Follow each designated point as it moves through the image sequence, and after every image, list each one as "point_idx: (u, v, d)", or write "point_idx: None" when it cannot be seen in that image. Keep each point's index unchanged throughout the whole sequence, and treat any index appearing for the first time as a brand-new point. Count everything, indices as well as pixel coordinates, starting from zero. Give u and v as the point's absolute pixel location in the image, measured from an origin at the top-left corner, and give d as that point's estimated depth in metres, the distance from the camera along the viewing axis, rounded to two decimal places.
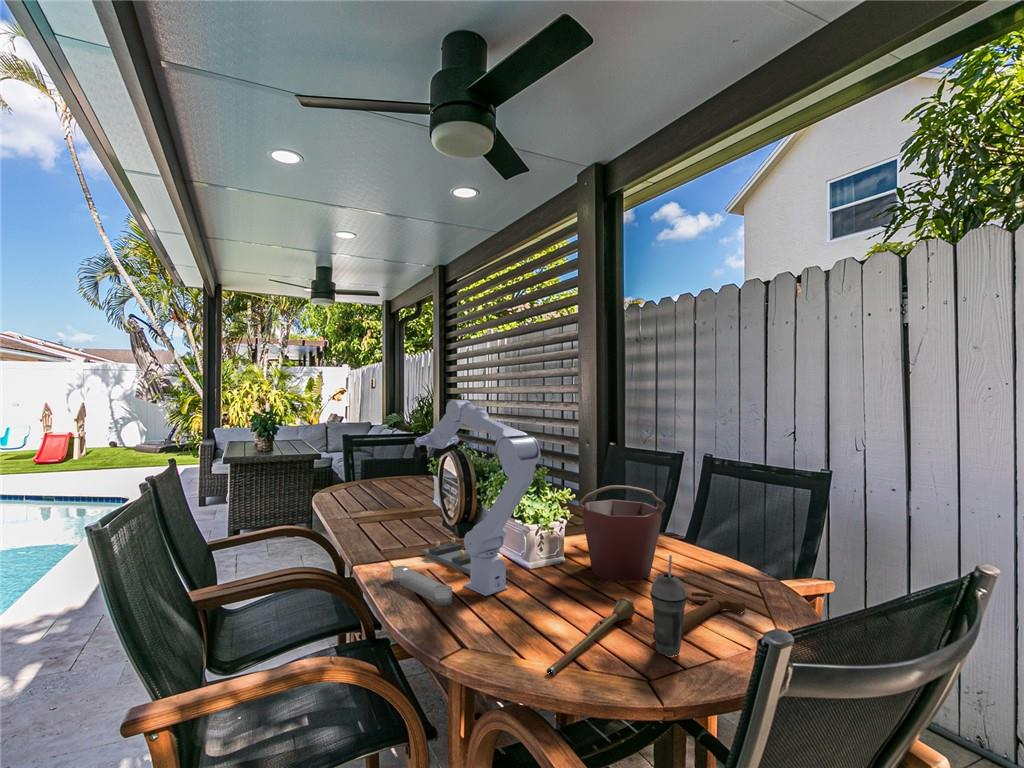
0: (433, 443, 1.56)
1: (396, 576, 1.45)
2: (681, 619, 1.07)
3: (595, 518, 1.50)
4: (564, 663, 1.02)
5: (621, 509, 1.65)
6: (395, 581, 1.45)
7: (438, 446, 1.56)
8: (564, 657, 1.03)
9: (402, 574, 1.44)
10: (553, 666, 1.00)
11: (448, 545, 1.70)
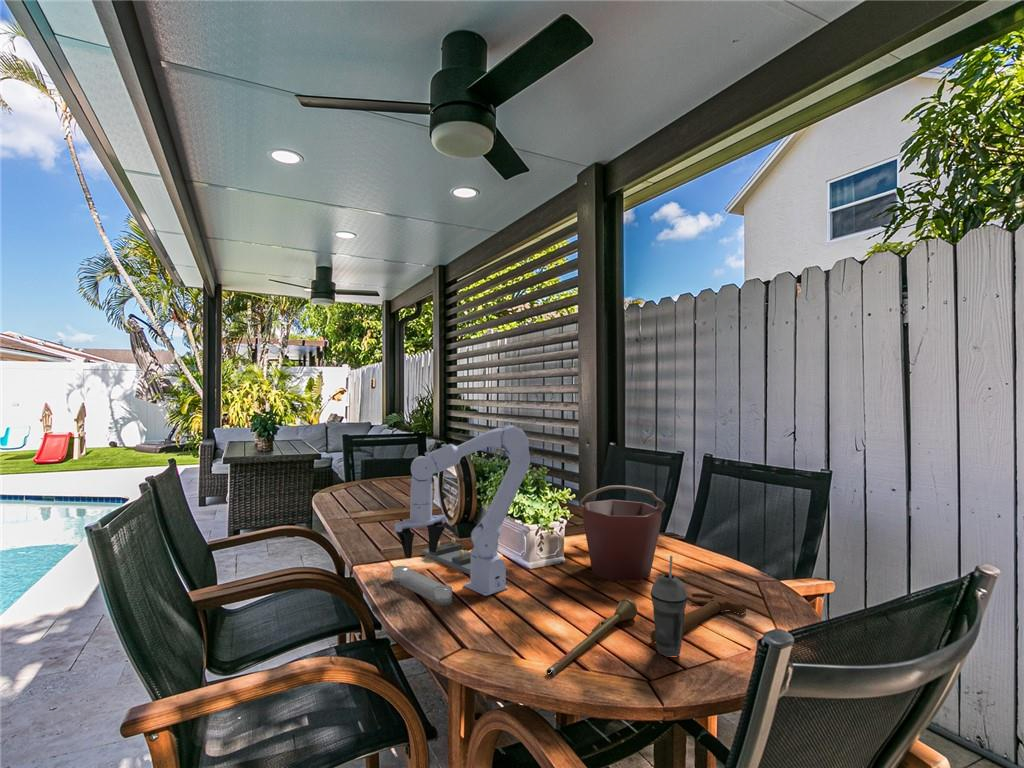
0: (415, 521, 1.37)
1: (396, 576, 1.45)
2: (682, 620, 1.06)
3: (595, 518, 1.50)
4: (564, 664, 1.02)
5: (621, 509, 1.65)
6: (395, 581, 1.45)
7: (423, 522, 1.37)
8: (564, 658, 1.03)
9: (402, 574, 1.44)
10: (553, 666, 1.00)
11: (448, 545, 1.70)
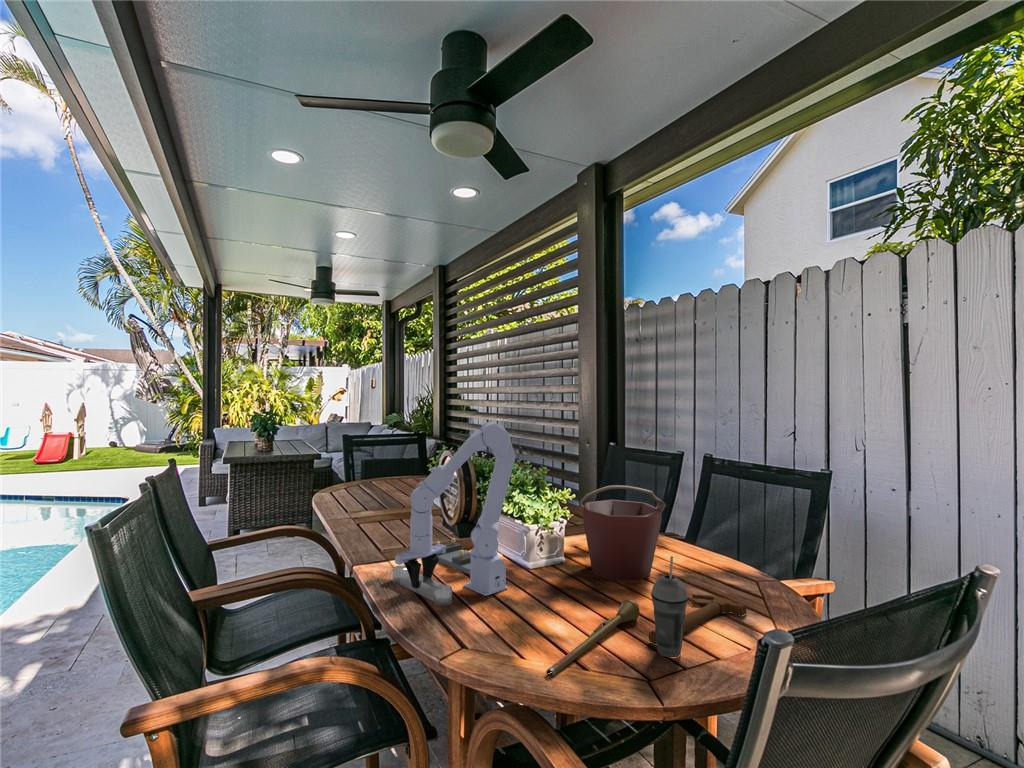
0: (415, 553, 1.37)
1: (396, 576, 1.45)
2: (682, 620, 1.06)
3: (595, 518, 1.50)
4: (564, 664, 1.02)
5: (621, 509, 1.65)
6: (395, 581, 1.45)
7: (423, 554, 1.37)
8: (564, 658, 1.03)
9: (402, 574, 1.44)
10: (553, 667, 1.00)
11: (448, 545, 1.70)
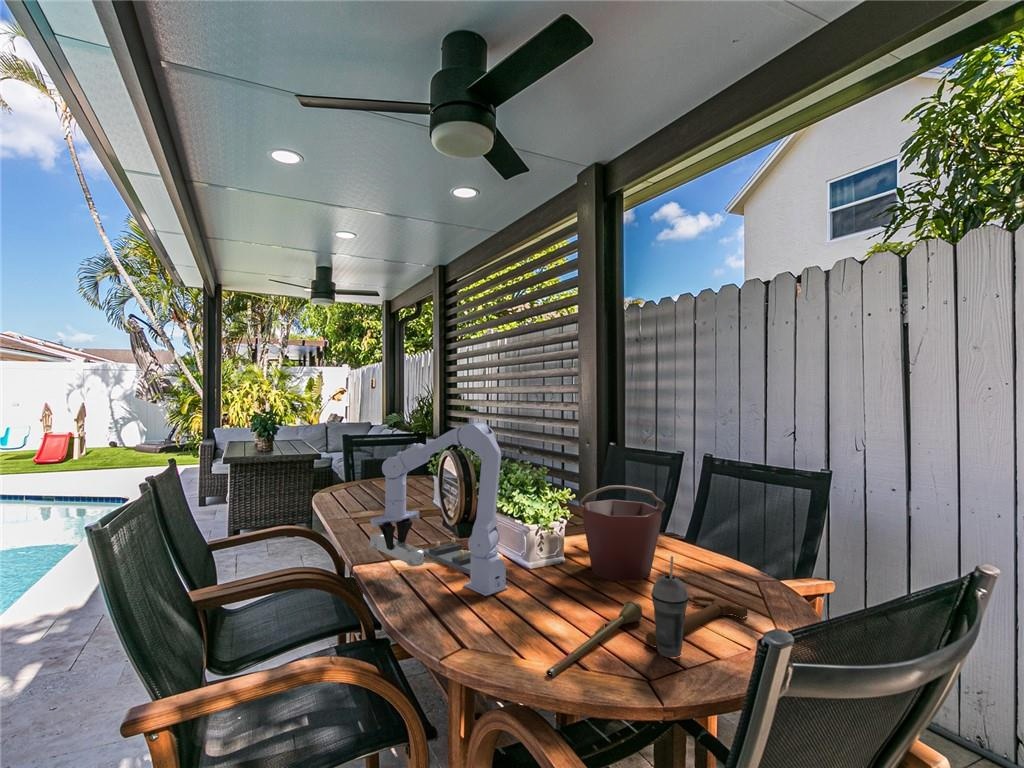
0: (390, 517, 1.47)
1: (373, 542, 1.54)
2: (683, 620, 1.06)
3: (595, 518, 1.50)
4: (564, 665, 1.02)
5: (621, 509, 1.65)
6: (372, 546, 1.54)
7: (397, 518, 1.47)
8: (565, 659, 1.03)
9: (379, 539, 1.53)
10: (553, 668, 1.00)
11: (448, 545, 1.70)
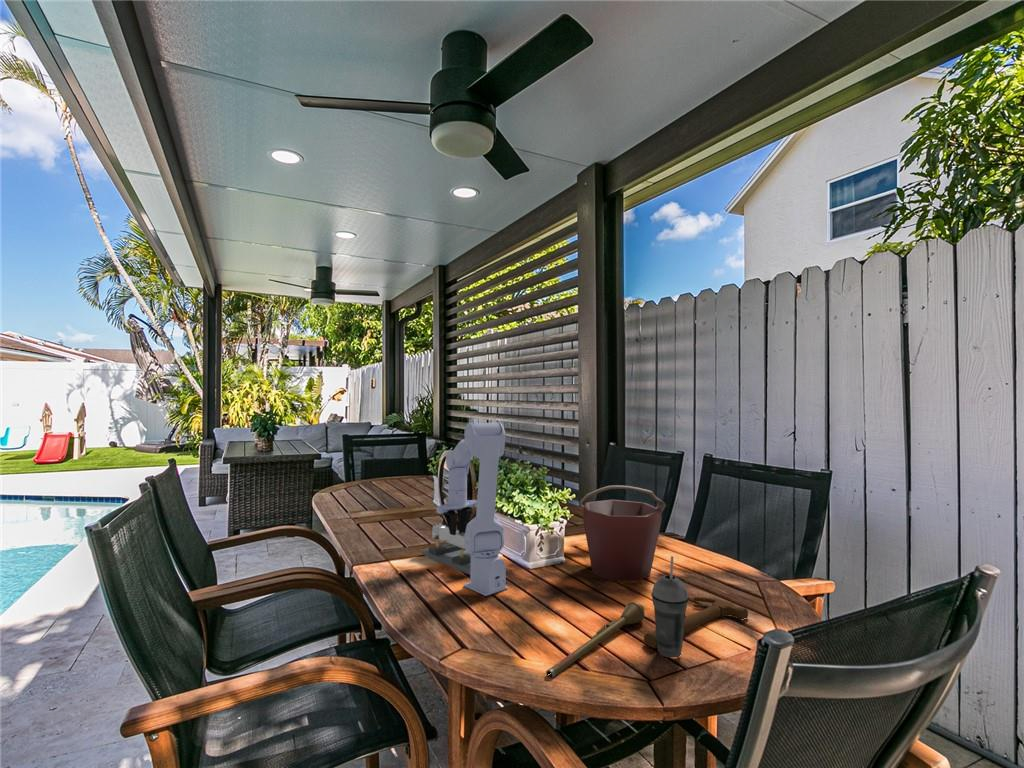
0: (453, 505, 1.62)
1: (435, 532, 1.69)
2: (683, 620, 1.06)
3: (595, 518, 1.50)
4: (565, 665, 1.01)
5: (621, 509, 1.65)
6: (435, 537, 1.69)
7: (459, 506, 1.62)
8: (565, 659, 1.02)
9: (441, 530, 1.68)
10: (553, 668, 1.00)
11: (448, 545, 1.70)
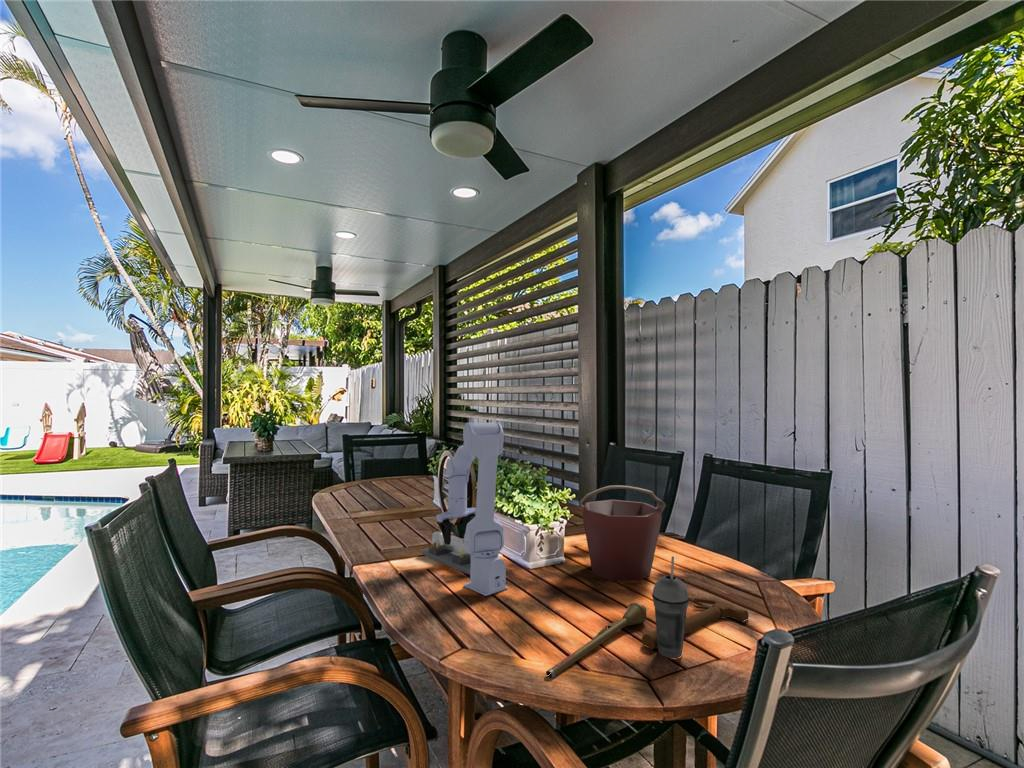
0: (453, 513, 1.62)
1: (435, 539, 1.69)
2: (683, 621, 1.06)
3: (595, 518, 1.50)
4: (565, 666, 1.01)
5: (621, 509, 1.65)
6: (435, 544, 1.69)
7: (459, 514, 1.62)
8: (565, 660, 1.02)
9: (441, 537, 1.68)
10: (553, 668, 1.00)
11: None
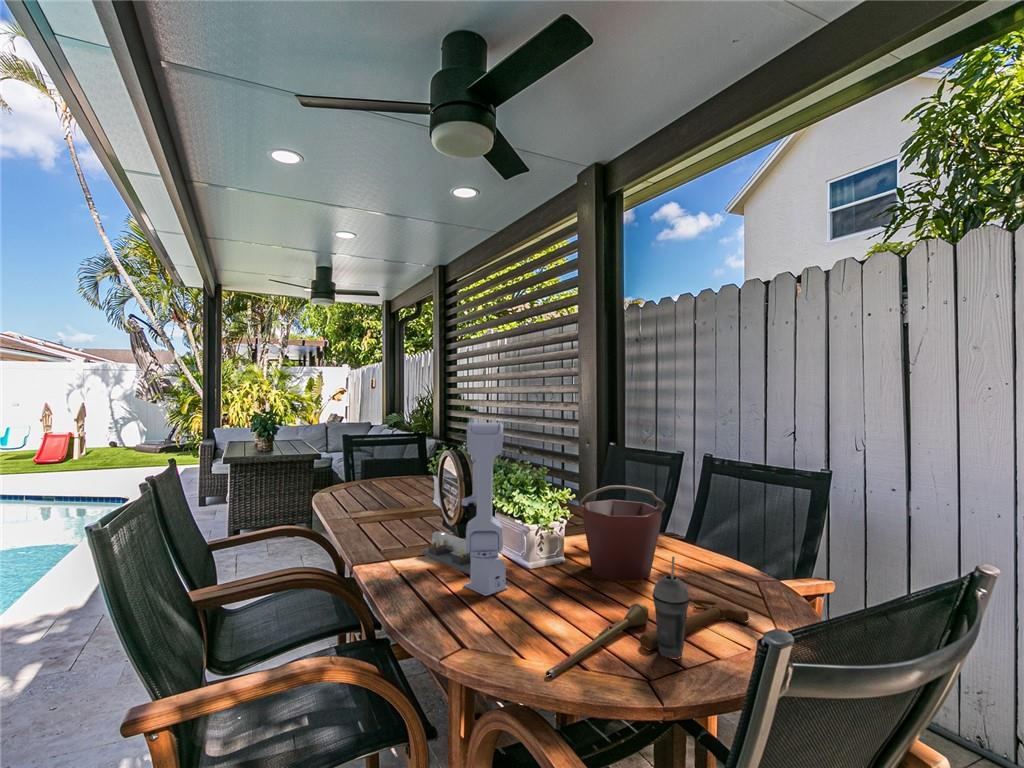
0: None
1: (435, 539, 1.69)
2: (684, 621, 1.06)
3: (595, 518, 1.50)
4: (565, 667, 1.01)
5: (621, 509, 1.65)
6: (435, 544, 1.69)
7: None
8: (565, 660, 1.02)
9: (441, 537, 1.68)
10: (552, 669, 0.99)
11: None
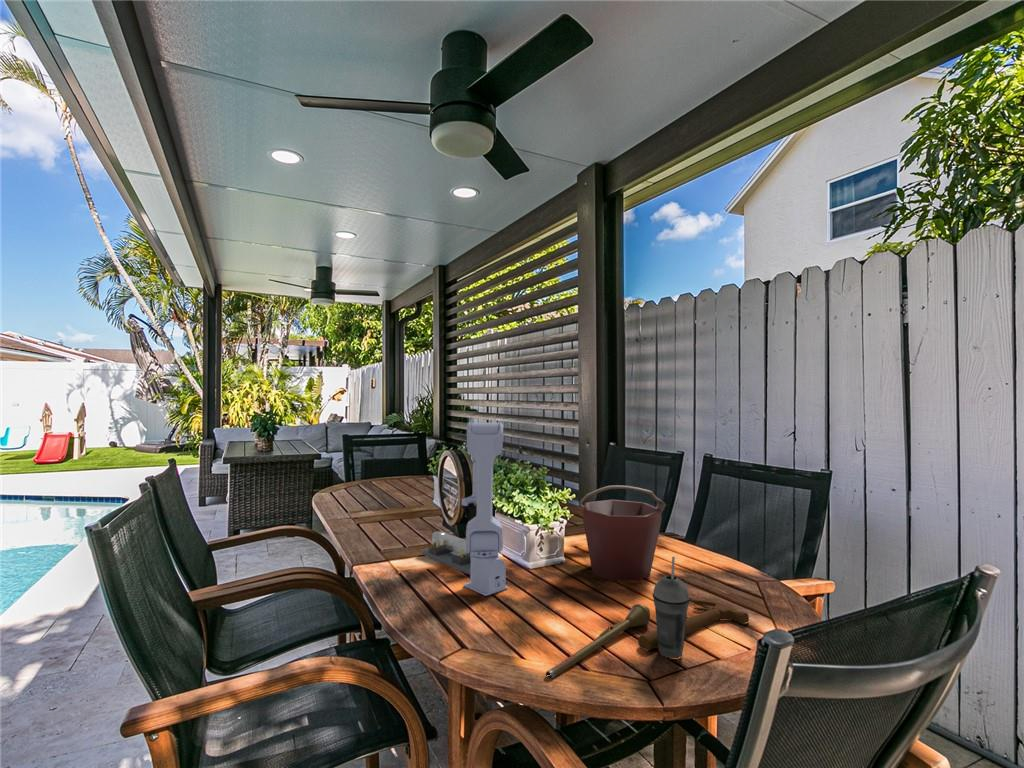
0: None
1: (435, 539, 1.69)
2: (684, 621, 1.06)
3: (595, 518, 1.50)
4: (565, 667, 1.01)
5: (621, 509, 1.65)
6: (435, 544, 1.69)
7: None
8: (565, 661, 1.02)
9: (441, 537, 1.68)
10: (552, 669, 0.99)
11: None
